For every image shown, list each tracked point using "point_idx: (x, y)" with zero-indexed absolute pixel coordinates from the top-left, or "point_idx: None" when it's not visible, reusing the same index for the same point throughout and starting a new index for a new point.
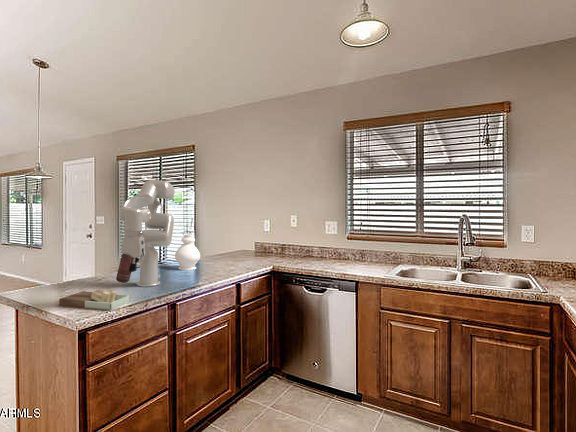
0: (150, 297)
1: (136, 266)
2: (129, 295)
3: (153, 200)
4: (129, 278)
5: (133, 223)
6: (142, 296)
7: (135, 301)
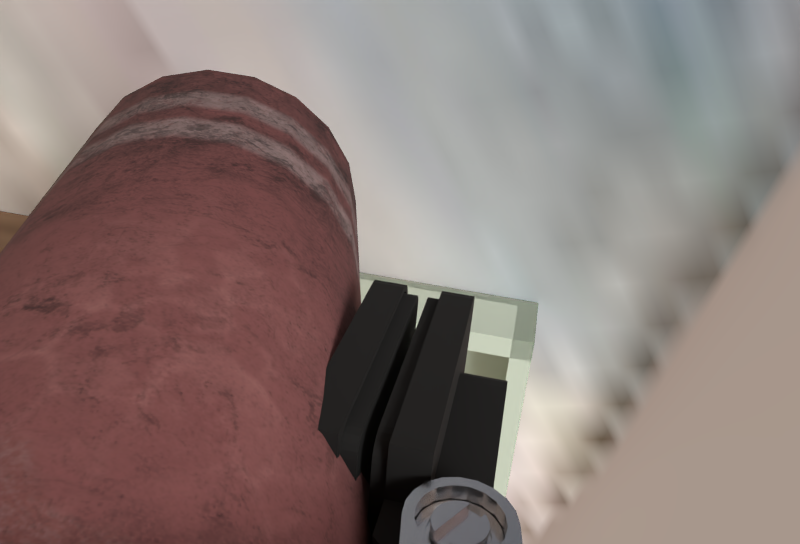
0: (763, 66)
1: (499, 431)
2: (528, 357)
3: None
4: (354, 209)
5: None
6: (607, 29)
7: (605, 294)
